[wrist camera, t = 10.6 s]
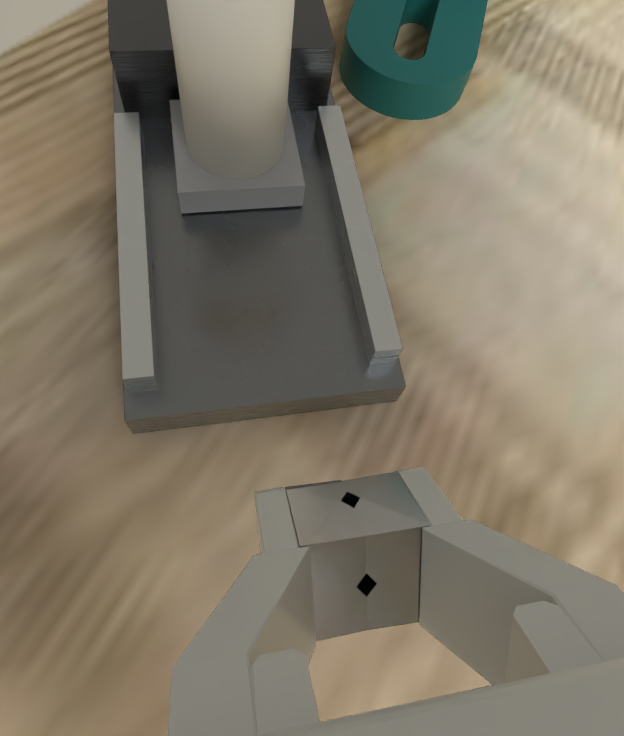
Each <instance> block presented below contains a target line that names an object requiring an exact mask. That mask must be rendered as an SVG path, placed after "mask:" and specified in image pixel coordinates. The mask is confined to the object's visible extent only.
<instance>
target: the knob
mask: <svg viewBox="0 0 624 736" xmlns="http://www.w3.org/2000/svg"><path fill="white" fill-rule="evenodd" d="M294 5H295V0H167V8H168V15H169V22H170V30H171V37H172V44H173V52H174V59H175V66H176V73H177V81H178V88H179V95H180V100H170V111H171V122H172V133H173V145H174V156H175V167H176V178H177V189H178V197H179V203H180V208H181V213H197V212H212V211H228V210H244V209H260V208H275V207H291V206H303V199H304V191H305V182H304V177H303V172H302V167H301V162H300V158H299V153H298V148H297V143H296V138H295V133H294V129H293V124H292V119H291V114H290V109H289V104H288V87H289V74H290V60H291V46H292V32H293V19H294Z"/></svg>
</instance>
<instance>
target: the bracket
mask: <svg viewBox="0 0 624 736" xmlns="http://www.w3.org/2000/svg"><path fill="white" fill-rule="evenodd" d="M487 1H488V0H355V2H354V5H353V7H352V10H351V13H350V15H349V18H348V21H347V25H346V31H345V37H344V43H343V49H342V56H341V62H340V73H341V77H342V80H343V82H344V84H345V86H346V87H347V89H348V90H349V91H350V93H351V94H352V95H353V96H354V97H355V98H356V99H357V100H358V101H360V102H361V103H362V104H364V105H365V106H367V107H368V108H370V109H372V110H374V111H376V112H379V113H381V114H384V115H386V116H390V117H394V118H399V119H407V120H421V119H428V118H433V117H436V116H439V115H441V114H443V113H445V112H447V111H448V110H450V109H451V108H452V107H453V106H454V105H455V104H456V103H457V102H458V100H459V99H460V97H461V95H462V92H463V90H464V87H465V85H466V82H467V80H468V77H469V75H470V73H471V70H472V68H473V65H474V63H475V60H476V57H477V53H478V48H479V42H480V37H481V32H482V27H483V22H484V17H485V12H486V6H487ZM405 23H417V24H420V25H422V26H423V27H425V28H426V29H427V31H428V34H429V36H428V40H427V44H426V48H425V51H424V55H423V57H422V58H420V59H417V60H410V59H406V58H403V57H401V56H399V55H398V54H397V53H396V52H395V50H394V46H395V42H396V39H397V36H398V32H399V29H400V27H401V26H402V25H403V24H405Z"/></svg>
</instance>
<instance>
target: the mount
mask: <svg viewBox="0 0 624 736" xmlns="http://www.w3.org/2000/svg"><path fill="white" fill-rule="evenodd" d="M108 25H109V52H110V56H111V60H112V64H113V89H114V140H115V170H116V200H117V229H118V259H119V289H120V319H121V349H122V379H123V383H124V412H125V422H126V423H127V425H128V426H129V428H130V429H131V431H132V432H133V434H136V433H144V432H152V431H160V430H168V429H176V428H184V427H192V426H200V425H208V424H216V423H224V422H232V421H240V420H247V419H255V418H263V417H271V416H279V415H287V414H295V413H303V412H311V411H319V410H327V409H335V408H343V407H351V406H359V405H367V404H375V403H383V402H391V401H396V400H397V399H398V397H399V396H400V394H401V393H402V391H403V390H404V389H405V387H406V385H405V381H404V377H403V373H402V369H401V365H400V361H399V357H398V356H399V354H400V352H401V351H402V349H403V348H402V344H401V340H400V336H399V332H398V328H397V324H396V321H395V317H394V313H393V309H392V305H391V301H390V297H389V293H388V289H387V286H386V282H385V278H384V274H383V270H382V266H381V262H380V258H379V255H378V251H377V247H376V243H375V239H374V235H373V231H372V227H371V223H370V220H369V216H368V212H367V208H366V204H365V200H364V196H363V192H362V189H361V185H360V181H359V177H358V173H357V169H356V165H355V161H354V157H353V154H352V150H351V146H350V142H349V138H348V134H347V130H346V126H345V122H344V119H343V115H342V111H341V107H340V105H336V106H335V104H334V100H333V96H332V92H331V88H330V82H331V76H332V69H333V62H334V56H335V49H336V46H335V43H334V39H333V35H332V31H331V28H330V24H329V20H328V17H327V13H326V9H325V5H324V2H323V0H295V5H294V19H293V32H292V46H291V60H290V74H289V87H288V104H289V109H290V114H291V119H292V124H293V129H294V133H295V138H296V143H297V148H298V153H299V158H300V162H301V167H302V172H303V177H304V182H305V191H304V199H303V206H291V207H275V208H260V209H244V210H228V211H212V212H197V213H181V208H180V203H179V197H178V189H177V178H176V167H175V156H174V145H173V133H172V122H171V111H170V100H180V95H179V88H178V81H177V73H176V66H175V59H174V52H173V44H172V37H171V30H170V22H169V15H168V8H167V0H108Z"/></svg>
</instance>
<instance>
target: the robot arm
mask: <svg viewBox="0 0 624 736" xmlns="http://www.w3.org/2000/svg"><path fill="white" fill-rule="evenodd" d="M255 506H256V515H257V525H258V534H259V544H260V553H261V554H258V555H254V556H253V557H252V559H251V560H250V561H249V563H248V564H247V566H246V567H245V568H244V570H243V571H242V573H241V574H240V575H239V577H238V578H237V579H236V581H235V582H234V584H233V585H232V586H231V588H230V589H229V591H228V592H227V593H226V595H225V596H224V597H223V599H222V600H221V602H220V603H219V604H218V606H217V607H216V609H215V610H214V611H213V613H212V614H211V615H210V617H209V618H208V620H207V621H206V622H205V624H204V625H203V627H202V628H201V629H200V631H199V632H198V633H197V635H196V636H195V638H194V639H193V640H192V642H191V643H190V645H189V646H188V647H187V649H186V650H185V651H184V653H183V654H182V656H181V657H180V658H179V660H178V661H177V663H176V664H175V665H174V667H173V668H172V682H171V696H170V710H169V724H168V736H624V593H623V592H622V591H621V590H620V589H619V588H618V587H617V586H616V585H615V584H612V583H610V582H608V581H606V580H604V579H601V578H599V577H597V576H595V575H593V574H590V573H588V572H586V571H584V570H582V569H579V568H577V567H575V566H573V565H571V564H568V563H566V562H564V561H562V560H560V559H558V558H555V557H553V556H551V555H549V554H547V553H544V552H542V551H540V550H538V549H536V548H533V547H531V546H529V545H527V544H525V543H522V542H520V541H518V540H516V539H514V538H511V537H509V536H507V535H505V534H503V533H500V532H498V531H496V530H494V529H492V528H489V527H487V526H485V525H483V524H481V523H478V522H476V521H474V520H466V521H464V520H463V519H462V518H461V516H460V515H459V514H458V512H457V511H456V509H455V508H454V507H453V505H452V504H451V502H450V501H449V500H448V498H447V497H446V495H445V494H444V493H443V491H442V490H441V489H440V487H439V486H438V484H437V483H436V482H435V480H434V479H433V477H432V476H431V475H430V473H429V472H428V470H427V469H426V468H423V467H417V468H412V469H406V470H401V471H395V472H392V473H386V474H380V475H374V476H368V477H362V478H356V479H350V480H344V481H341V480H338V481H330V482H322V483H314V484H306V485H298V486H290V487H285V488H283V487H281V488H274V489H268V490H261V491H255ZM415 622H419V625H421V626H422V627H423V628H424V629H425V630H427V631H428V632H429V633H430V634H431V635H433V636H434V637H435V638H436V639H438V640H439V641H440V642H441V643H442V644H444V645H445V646H446V647H447V648H448V649H450V650H451V651H452V652H453V653H455V654H456V655H457V656H458V657H459V658H461V659H462V660H463V661H464V662H465V663H467V664H468V665H469V666H470V667H472V668H473V669H474V670H475V671H476V672H478V673H479V674H480V675H481V676H482V677H484V678H485V679H486V680H487V681H489V682H490V683H491V684H492V685H491V686H486V687H481V688H477V689H472V690H467V691H463V692H458V693H453V694H449V695H444V696H439V697H434V698H430V699H425V700H420V701H416V702H411V703H406V704H402V705H397V706H392V707H387V708H383V709H378V710H373V711H369V712H364V713H359V714H355V715H350V716H345V717H340V718H336V719H331V720H326V721H322V722H320V720H319V715H318V710H317V706H316V701H315V696H314V692H313V687H312V682H311V677H310V673H309V668H308V665H309V662H310V659H311V657H312V654H313V652H314V649H315V646H316V641H320V640H324V639H329V638H333V637H338V636H343V635H347V634H352V633H356V632H361V631H365V630H371V629H377V628H384V627H390V626H396V625H403V624H409V623H415Z"/></svg>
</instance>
